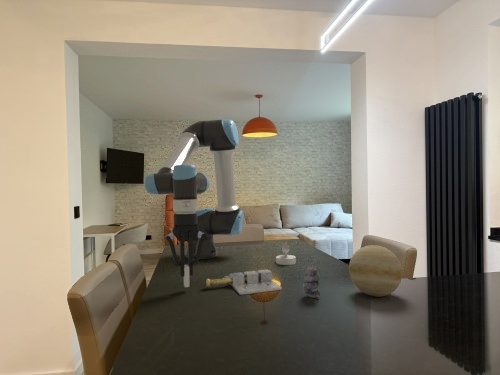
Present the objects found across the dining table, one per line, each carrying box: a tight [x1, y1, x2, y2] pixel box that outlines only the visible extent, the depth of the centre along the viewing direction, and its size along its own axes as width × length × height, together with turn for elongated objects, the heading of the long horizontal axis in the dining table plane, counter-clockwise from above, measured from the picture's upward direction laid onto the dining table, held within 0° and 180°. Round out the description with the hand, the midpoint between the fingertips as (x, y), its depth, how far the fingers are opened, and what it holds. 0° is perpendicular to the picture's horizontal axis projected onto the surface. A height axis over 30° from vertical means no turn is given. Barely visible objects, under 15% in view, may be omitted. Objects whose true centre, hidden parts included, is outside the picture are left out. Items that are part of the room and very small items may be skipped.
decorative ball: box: [348, 244, 403, 297], centre depth 97 cm, size 15×15×15 cm
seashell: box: [302, 264, 321, 298], centre depth 95 cm, size 5×5×10 cm
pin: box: [205, 276, 247, 288], centre depth 108 cm, size 3×16×3 cm, turn 109°
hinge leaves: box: [223, 269, 282, 296], centre depth 110 cm, size 20×14×4 cm
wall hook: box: [275, 242, 297, 266], centre depth 140 cm, size 9×10×10 cm
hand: (186, 285), depth 103 cm, fingers closed
